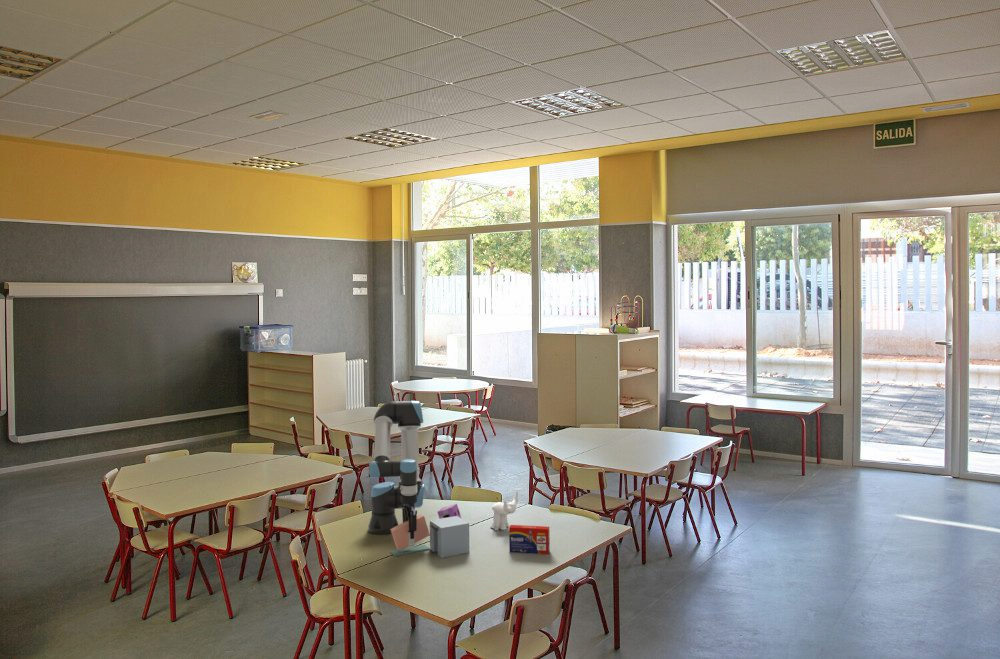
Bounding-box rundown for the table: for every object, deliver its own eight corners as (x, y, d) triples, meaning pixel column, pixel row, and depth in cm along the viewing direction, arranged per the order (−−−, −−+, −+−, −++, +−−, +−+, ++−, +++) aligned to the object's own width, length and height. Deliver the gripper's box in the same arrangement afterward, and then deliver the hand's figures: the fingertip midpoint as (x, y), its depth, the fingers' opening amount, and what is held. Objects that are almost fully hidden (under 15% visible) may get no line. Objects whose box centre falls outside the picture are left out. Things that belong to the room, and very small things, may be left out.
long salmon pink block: (396, 548, 335) (390, 529, 334) (426, 533, 343) (420, 514, 341) (399, 550, 332) (393, 531, 331) (429, 535, 340) (424, 515, 338)
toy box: (549, 551, 334) (549, 526, 334) (548, 554, 330) (548, 529, 330) (510, 549, 338) (510, 524, 337) (509, 552, 334) (509, 527, 333)
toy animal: (508, 535, 359) (509, 501, 358) (485, 532, 363) (486, 498, 362) (520, 523, 377) (522, 491, 376) (498, 520, 381) (499, 488, 380)
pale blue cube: (428, 549, 339) (428, 520, 338) (457, 543, 346) (456, 515, 345) (439, 558, 327) (439, 528, 327) (469, 552, 334) (469, 523, 334)
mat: (390, 552, 336) (390, 551, 336) (424, 545, 344) (424, 544, 344) (394, 556, 330) (394, 554, 330) (429, 549, 339) (429, 548, 338)
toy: (461, 538, 351) (451, 508, 352) (446, 542, 353) (436, 512, 354) (466, 531, 362) (457, 502, 363) (452, 536, 363) (442, 507, 364)
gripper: (394, 490, 341) (395, 540, 342) (408, 499, 327) (408, 550, 328) (409, 488, 345) (410, 537, 346) (423, 496, 330) (424, 547, 331)
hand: (409, 543), depth 337 cm, fingers closed on long salmon pink block, 4 cm apart
